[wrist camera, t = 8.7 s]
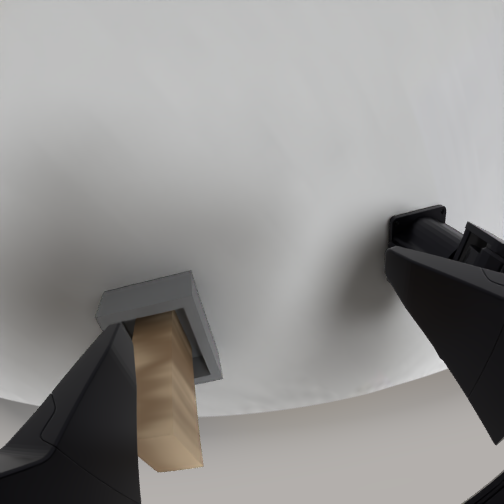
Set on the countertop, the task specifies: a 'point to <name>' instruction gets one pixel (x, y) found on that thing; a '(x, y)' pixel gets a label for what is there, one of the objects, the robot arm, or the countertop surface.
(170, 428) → the slat
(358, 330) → the countertop surface
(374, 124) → the countertop surface
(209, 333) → the end cap
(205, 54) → the countertop surface
